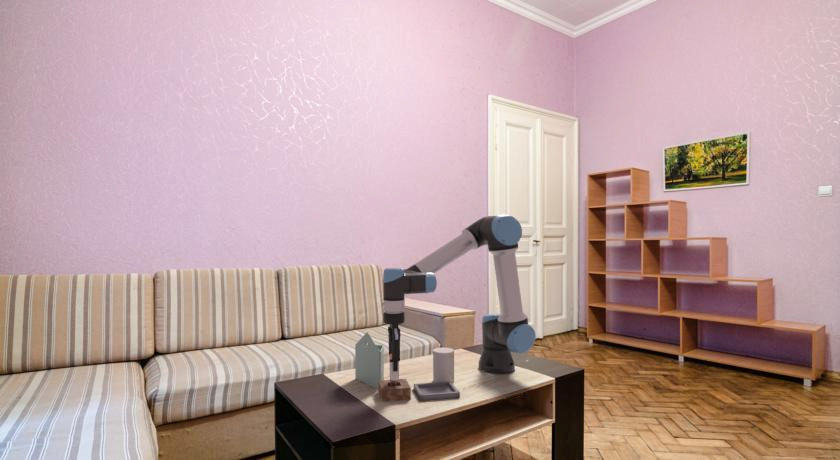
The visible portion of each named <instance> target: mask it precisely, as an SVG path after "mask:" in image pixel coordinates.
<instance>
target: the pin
mask: <svg viewBox="0 0 840 460" xmlns="http://www.w3.org/2000/svg"><path fill="white" fill-rule="evenodd" d="M390 360H392V353H391V354H390V357H389V380H390V386H399V380H392V381H391V362H390Z"/></svg>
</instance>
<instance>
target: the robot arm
mask: <svg viewBox="0 0 840 460" xmlns="http://www.w3.org/2000/svg"><path fill="white" fill-rule="evenodd" d="M522 237H523V228H522V225H521V222H520V221H519V220H518V219H517V218H516V217H514V216H512V215H509V214H498V215H497V214H496V215H486V216H484V217H481V218H479V219H478V220H476V221H475V222H473V223H472V224H470V225H469V226H467V227H466V228H464V229H463V230H462V231H461V234H459V235H457V236H456V237H455V238H453V239H452V240H450V241H448V242H446V243H445V244H444V245H442V246H440V247H439V248H437V249H436V250H435V251H433V252H431V253H430V254H428V255H426V256H425V257H423V258H422V259H420V260H419V261H417V262H416V263H414V264H413V265H411V266H409V267H408V268H402V267H388V268H385V269H384V270H383V275H382V276H383V277H382V288H383V289H382V292H383V294H382V295H383V299H382V301H383V302H382V303H381V306H383V308H382V309H383V310H382V311H384V312H383V324H385V325H389V326H388V327H387V332H388V337H387V339H388V356H389V358H390V354H391V353H392V360H390V359H389V363H390V362H391V381H392V380H399V379H400V360H401V336H402V335H401V328H400V327H399V325H401V324H404V323H405V317H406V316H405V306H406V305H405V299H406V298H405V295H412V294H430V293H434V292H435V291H436V289H437V285H438V281H437V277H436V275H435V274H436V273H438V272H439V271H441V270H442V269H444V268H445V267H447V266H448V265H450V264H451V263H453V262H455V261H456V260H458V259H460V258H461V257H462V256H464V255H465V254H467V253H468V252H470V251H472V250H477V249H479V248H481V247H483V246H487V248H488V252H489V253H490V254H492V256H493V263H494V264H493V265H494V271H495V280H496V288H497V294H498V303H499V310H500V313H487V314H484V315H483V316H482V318H481V319H482V320H481V325H482V327H481V328H482V329H481V331H482V337H481V338H482V349H481V352H480V353H481V354H480V356H479V360H478V369H479V370H480V371H482V372H485V373H490V374H509V373H513V372H514V371H515V368H516V365H515V361H514V358H513V354H512V353H515V354H525V353H527V352H529V351H530V350H531V349H532V347H533V346H534V344H535V342H536V339H537V338H536V331H535V330H534V328H533V327H532V326H531V325H529V319H528V315H527V314H526V313H524V311H523V302H522V296H521V294H522V293H521V288H520V286H521V285H520V280H519V274H518V264H517V258H516V251H517V250H518V249H519V242H520V241H521V238H522Z"/></svg>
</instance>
